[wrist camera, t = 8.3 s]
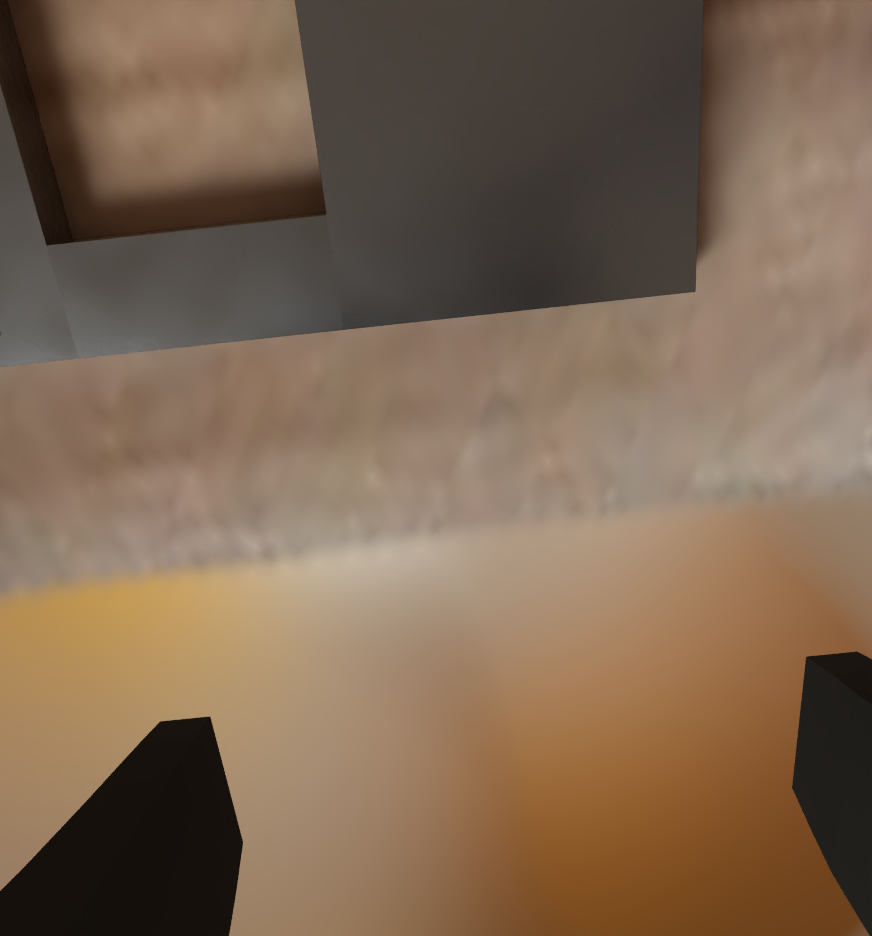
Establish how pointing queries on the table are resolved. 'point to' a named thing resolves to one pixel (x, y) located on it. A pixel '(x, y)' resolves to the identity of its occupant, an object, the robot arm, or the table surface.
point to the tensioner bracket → (397, 184)
